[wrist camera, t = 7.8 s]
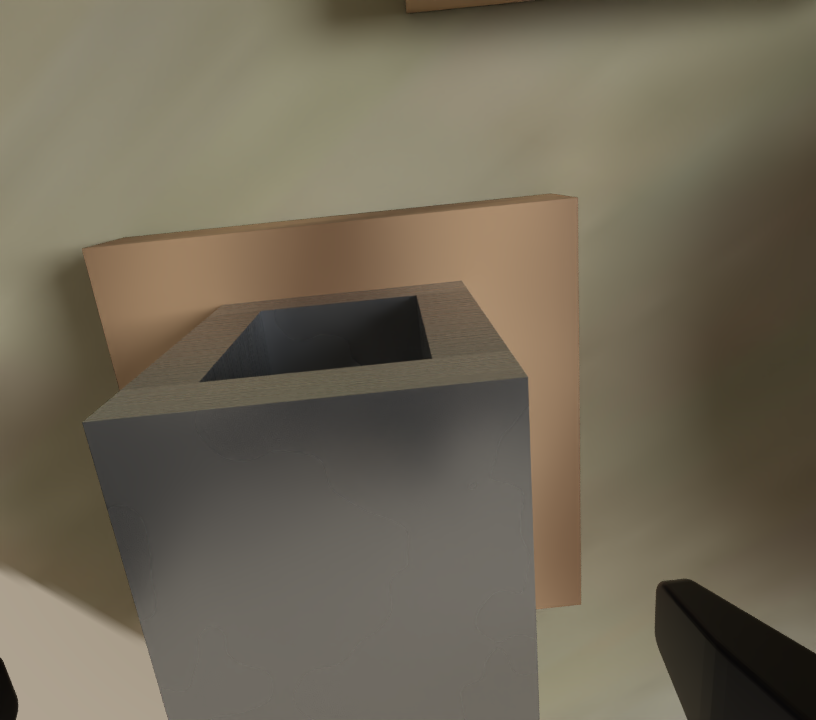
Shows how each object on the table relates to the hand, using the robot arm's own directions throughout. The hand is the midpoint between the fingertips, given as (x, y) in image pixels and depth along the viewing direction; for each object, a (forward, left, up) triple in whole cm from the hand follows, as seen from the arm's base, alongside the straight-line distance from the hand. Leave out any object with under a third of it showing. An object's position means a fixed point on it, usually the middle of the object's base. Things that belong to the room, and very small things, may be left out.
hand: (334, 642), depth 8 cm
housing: (0, 0, -6) cm, 6 cm away
